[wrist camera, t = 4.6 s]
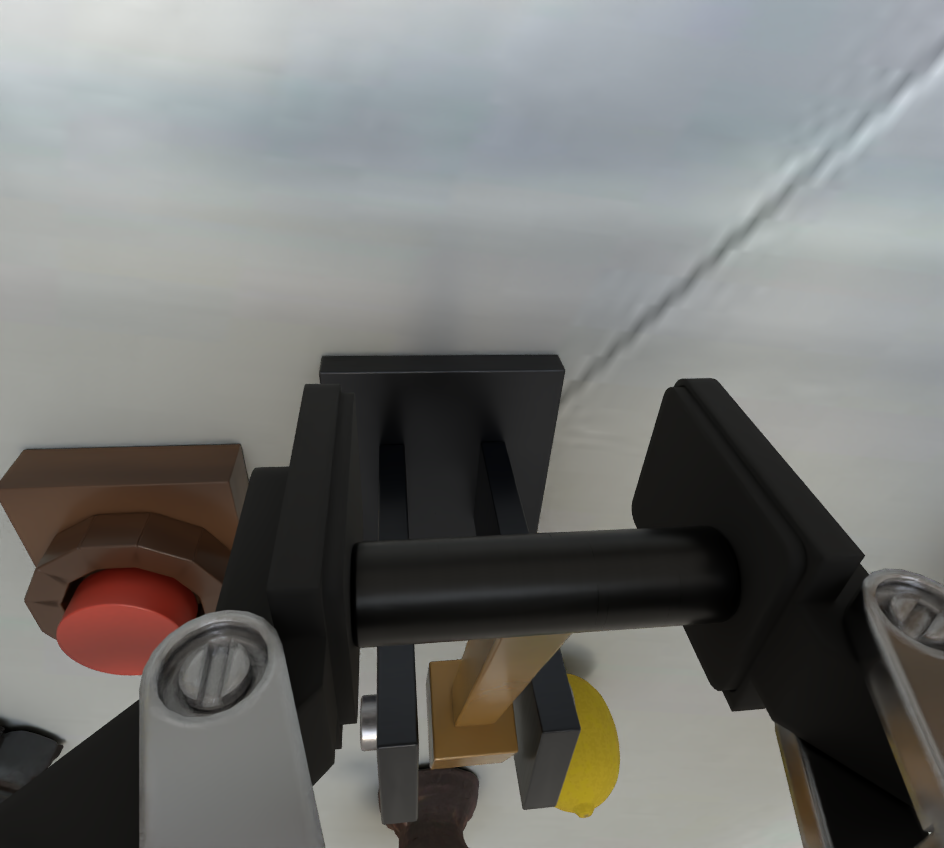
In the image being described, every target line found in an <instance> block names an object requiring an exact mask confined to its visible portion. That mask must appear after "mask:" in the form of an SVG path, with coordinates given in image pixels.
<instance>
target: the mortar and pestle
mask: <svg viewBox="0 0 944 848" xmlns="http://www.w3.org/2000/svg"><path fill="white" fill-rule="evenodd" d="M478 788H479V781H478V778H477V777H476V776H475V775H474V774H473V773H471V772H468V771H465V770H462V769H458V768H455V767H451V768H441V769H430V768H427V769H421V770H418V818H417V821H414V822H405V823H395V824H386V826H387V827H388V828H390V829H392V830H394V832H395V834H396V835H397V836H398V838H399V848H468V847H467V845H466V843H465V841H464V838H463V830H464V829H465V827H466V824H467V822H468V821H469V820H470V819H471V818H472V816H473V813H474V811H475V808H476V805H477V799H478ZM378 798H379V808H380V812H381V806H380V791H379V792H378Z"/></svg>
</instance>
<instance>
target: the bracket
mask: <svg viewBox="0 0 944 848" xmlns="http://www.w3.org/2000/svg"><path fill="white" fill-rule="evenodd" d="M564 375H565V369H564V366H563V364H562V362H561V360H560V358H559V356H558V355H443V356H323V357H322V359H321V365H320V371H319V377H320V384H341V387H342V393H355V401H356V416H357V432H358V447H359V462H360V477H361V493H362V508H363V541H385V540H406V539H427V538H449V537H470V536H491V535H512V534H534V533H537V529H538V523H539V518H540V512H541V506H542V500H543V495H544V489H545V483H546V478H547V472H548V466H549V460H550V455H551V449H552V443H553V438H554V432H555V426H556V420H557V415H558V409H559V403H560V398H561V392H562V386H563V380H564ZM513 708H514V716H515V725H516V733H517V741H518V752H517V753H516V754H514V760H515V766H516V772H517V778H518V784H519V790H520V796H521V802H522V808H523V810H528V809H537V808H546V807H555V806H556V805H557V802H558V799H559V796H560V793H561V789H562V786H563V783H564V780H565V777H566V774H567V771H568V768H569V765H570V762H571V759H572V756H573V753H574V750H575V746H576V743H577V740H578V737H579V734H580V731H581V726H580V722H579V719H578V715H577V711H576V706H575V699H574V695H573V691H572V688H571V686H570V683H569V681H568V677H567V674H566V670H565V666H564V662H563V659H562V655H561V651H560V648H559V649H558V650H557V652H556V653H555V654H554V655H553V656H552V657H551V659H550V660H549V661H548V662H547V663H546V664H545V665H544V667H543V668H542V669H541V670H540V671H539V672H538V674H537V675H536V676H535V677H534V678H533V679H532V680H531V682H530V683H529V684H528V685H527V686H526V687H525V689H524V690H523V691H522V692H521V693H520V694H519V695H518V697H517V698H516V699H515V700H514V701H513ZM360 743H361V749H362V751H371V750H377V762H378V777H379V791H380V806H381V820H382V824H384V825H386V824H395V823H405V822H414V821H417V818H418V761H419V737H418V716H417V695H416V673H415V652H414V644H408V645H394V646H380V647H377V694H374V695H363V696H362V698H361V706H360Z"/></svg>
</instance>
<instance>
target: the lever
mask: <svg viewBox="0 0 944 848" xmlns="http://www.w3.org/2000/svg"><path fill="white" fill-rule="evenodd" d="M740 592H741V581H740V573H739V567H738V563H737V559H736V556H735V554H734V551H733V549H732V547H731V545H730V543H729V541H728V540H727V538H726V537H725V536H724V535H723V534H722V533H721V532H720V531H719V530H717V529H716V528H713V527H711V526H706V525H704V526H683V527H661V528H640V529H619V530H597V531H576V532H555V533H534V534H512V535H491V536H470V537H449V538H427V539H406V540H385V541H363V542H358V543H355V544H354V547H353V549H352V556H351V577H350V604H351V629H352V638H353V642H354V645H355V646H356V647H359V648H365V647H380V646H394V645H408V644H423V643H437V642H451V641H466V640H468V642H467V645H466V648H465V651H464V654H463V657H462V659H460V660H447V661H433V662H430V663H429V668H428V674H427V680H426V696H427V718H428V740H429V762H430V769H441V768H451V767H462V766H472V765H482V764H492V763H502V762H504V761H505V760H507V759H508V758H510V757H511V756H513V755H514V754H516V753H517V752H518V741H517V733H516V725H515V716H514V708H513V701H514V700H515V699H516V698H517V697H518V695H519V694H520V693H521V692H522V691H523V690H524V689H525V687H526V686H527V685H528V684H529V683H530V682H531V680H532V679H533V678H534V677H535V676H536V675H537V674H538V672H539V671H540V670H541V669H542V668H543V667H544V665H545V664H546V663H547V662H548V661H549V660H550V659H551V657H552V656H553V655H554V654H555V653H556V652H557V650H558V649H559V648H560V647H561V646H562V645H563V643H564V642H565V641H566V640H567V639H568V638H569V637H570V635H571V634H572V633H580V632H594V631H609V630H623V629H637V628H652V627H666V626H680V625H694V624H709V623H721V622H725V621H727V620H728V619H730V618H731V617H732V616H733V615H734V613H735V612H736V610H737V607H738V604H739V600H740Z"/></svg>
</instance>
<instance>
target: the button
mask: <svg viewBox="0 0 944 848" xmlns="http://www.w3.org/2000/svg"><path fill="white" fill-rule="evenodd" d="M197 612H198V604H197V600H196V598H195V595H194V594H193V592H192V591H191V590H190V589H188V588H187V587H186V586H184V585H183V584H182V583H180V582H179V581H177V580H176V579H175V578H173V577H169V576H165V575H162V574H158V573H154V572H151V571H147V570H143V569H140V568H136V567H133V568H113V569H104V570H101V571H98V572H96V573H93V574H91V575H90V576H88V577H87V578H85V579H84V580H83V581H82V582H81V583H80V584H79V586H78V587H77V589H76V591H75V593H74V595H73V597H72V599H71V601H70V603H69V605H68V607H67V609H66V611H65V613H64V615H63V617H62V619H61V621H60V623H59V624H58V627H57V630H56V638H57V642H58V644H59V646H60V648H61V649H62V650H63V651H64V653H65V654H66V655H68V656H69V657H70V658H71V659H73V660H74V661H76V662H78V663H79V664H81V665H83V666H86V667H88V668H91V669H94V670H97V671H100V672H105V673H110V674H116V675H142V672H143V669H144V667H145V665H146V663H147V662H148V660H149V658H150V656H151V654H152V652H153V651H154V650H155V649H156V648H157V646H158V645H159V644H160V643H161V642H162V641H163V640H164V639H165V638H166V637H167V636H168V635H169V634H170V633H172V632H173V631H175V630H176V629H177V628H179V627H180V626H182V625H183V624H185V623H186V622H188V621H190V620H193V619H195V618H196V616H197Z"/></svg>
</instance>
